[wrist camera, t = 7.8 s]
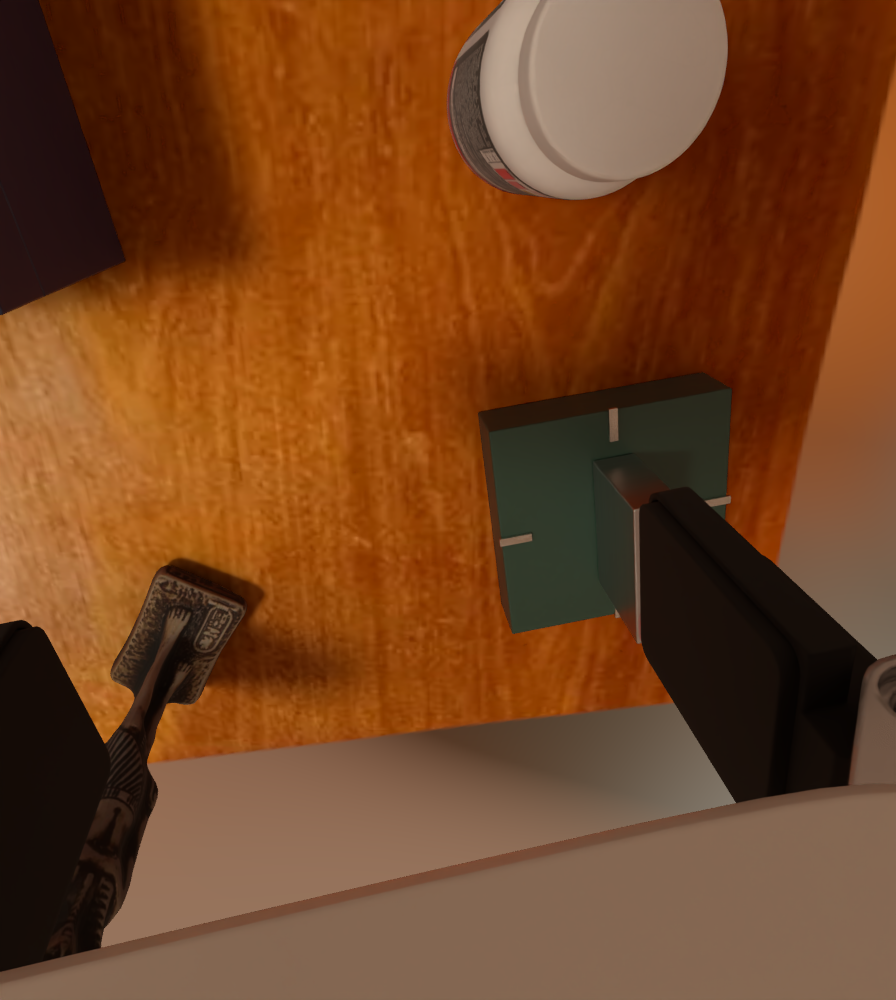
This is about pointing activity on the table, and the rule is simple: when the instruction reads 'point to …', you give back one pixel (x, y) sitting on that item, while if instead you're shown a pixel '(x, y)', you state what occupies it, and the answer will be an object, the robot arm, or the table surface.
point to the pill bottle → (585, 91)
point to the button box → (44, 171)
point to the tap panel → (589, 483)
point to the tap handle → (622, 530)
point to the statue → (143, 741)
